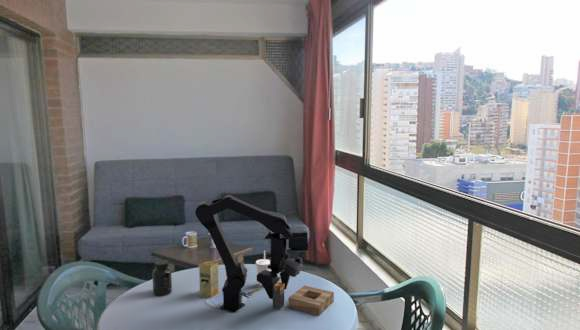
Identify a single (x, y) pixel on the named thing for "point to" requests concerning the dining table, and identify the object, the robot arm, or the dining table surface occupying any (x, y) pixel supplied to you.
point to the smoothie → (262, 265)
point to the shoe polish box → (208, 278)
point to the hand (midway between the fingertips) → (278, 293)
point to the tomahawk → (254, 290)
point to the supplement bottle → (162, 279)
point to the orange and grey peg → (278, 296)
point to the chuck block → (311, 299)
